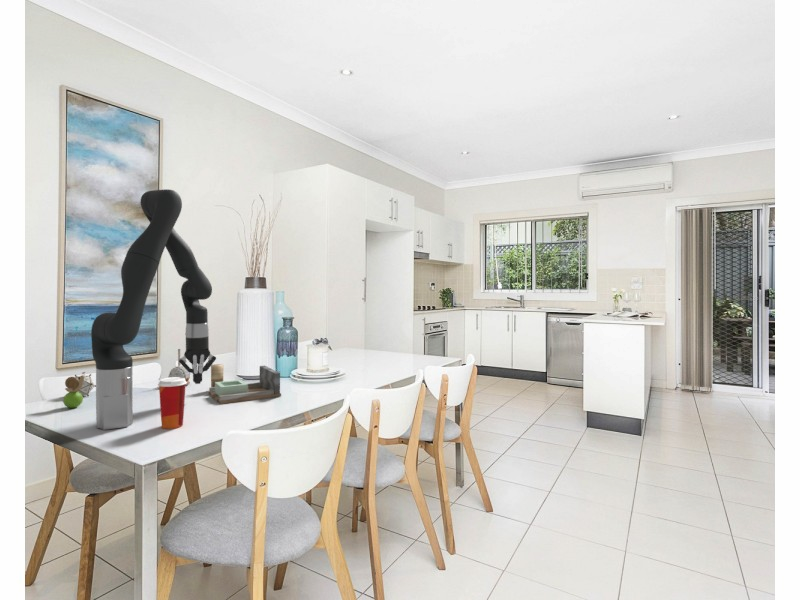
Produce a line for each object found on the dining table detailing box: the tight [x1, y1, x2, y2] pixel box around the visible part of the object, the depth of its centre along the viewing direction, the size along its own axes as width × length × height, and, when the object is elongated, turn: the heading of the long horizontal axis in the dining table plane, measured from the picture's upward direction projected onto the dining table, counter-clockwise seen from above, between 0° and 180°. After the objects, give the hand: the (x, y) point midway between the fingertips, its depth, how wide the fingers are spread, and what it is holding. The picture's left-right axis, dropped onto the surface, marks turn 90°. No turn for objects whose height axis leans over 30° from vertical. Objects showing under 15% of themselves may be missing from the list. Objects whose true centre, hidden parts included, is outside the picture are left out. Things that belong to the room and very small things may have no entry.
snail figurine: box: [62, 371, 86, 409], centre depth 154 cm, size 5×6×12 cm
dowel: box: [210, 363, 224, 387], centre depth 182 cm, size 4×4×10 cm
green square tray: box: [215, 379, 248, 396], centre depth 173 cm, size 10×10×4 cm
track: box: [208, 365, 282, 405], centre depth 175 cm, size 18×22×9 cm
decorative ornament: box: [167, 348, 191, 386], centre depth 190 cm, size 8×8×15 cm
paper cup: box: [157, 377, 187, 430], centre depth 137 cm, size 8×8×14 cm
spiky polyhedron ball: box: [74, 373, 96, 397], centre depth 169 cm, size 9×8×10 cm
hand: (197, 383), depth 166 cm, fingers closed
